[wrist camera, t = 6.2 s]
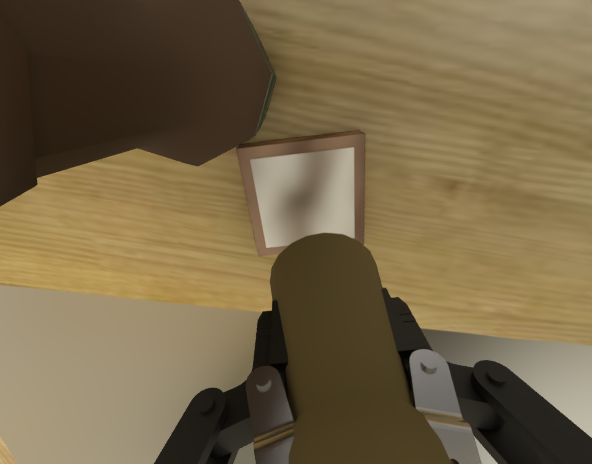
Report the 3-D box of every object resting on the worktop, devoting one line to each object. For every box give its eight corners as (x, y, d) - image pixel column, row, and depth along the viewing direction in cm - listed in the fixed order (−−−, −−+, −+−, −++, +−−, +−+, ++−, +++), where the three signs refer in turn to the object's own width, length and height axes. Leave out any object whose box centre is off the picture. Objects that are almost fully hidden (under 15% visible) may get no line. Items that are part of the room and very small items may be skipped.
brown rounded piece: (249, 292, 16) (197, 618, 6) (312, 211, 14) (382, 526, 4) (332, 331, 18) (392, 633, 8) (399, 266, 15) (594, 575, 6)
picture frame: (359, 130, 25) (365, 133, 23) (359, 235, 30) (364, 245, 28) (239, 144, 25) (236, 149, 23) (259, 246, 31) (258, 257, 29)
